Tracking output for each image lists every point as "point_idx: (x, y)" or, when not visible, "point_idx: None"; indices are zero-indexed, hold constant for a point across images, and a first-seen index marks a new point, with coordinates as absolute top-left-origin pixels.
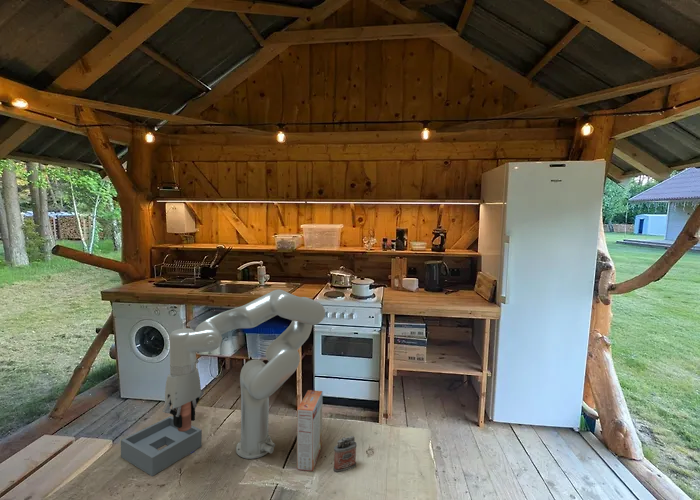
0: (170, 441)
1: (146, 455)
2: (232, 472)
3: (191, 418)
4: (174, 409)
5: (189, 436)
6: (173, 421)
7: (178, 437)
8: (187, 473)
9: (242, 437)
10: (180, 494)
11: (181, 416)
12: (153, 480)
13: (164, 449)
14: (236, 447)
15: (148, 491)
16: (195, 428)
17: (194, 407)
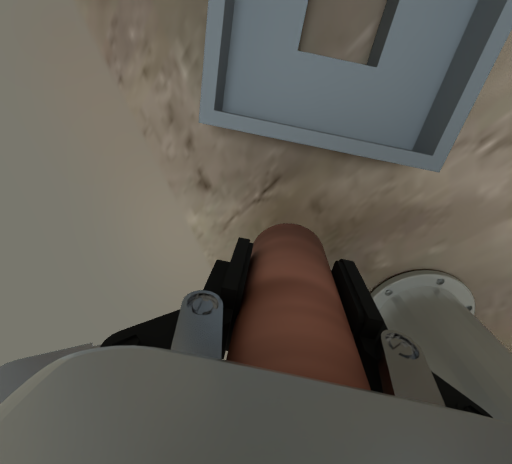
0: (388, 21)
1: (203, 75)
2: None
3: None
4: (199, 343)
5: (376, 156)
6: (211, 271)
7: (410, 52)
8: (266, 213)
9: (403, 333)
10: (201, 249)
11: (228, 349)
12: (206, 141)
13: (260, 124)
14: (397, 282)
15: (170, 166)
16: (450, 132)
17: None
